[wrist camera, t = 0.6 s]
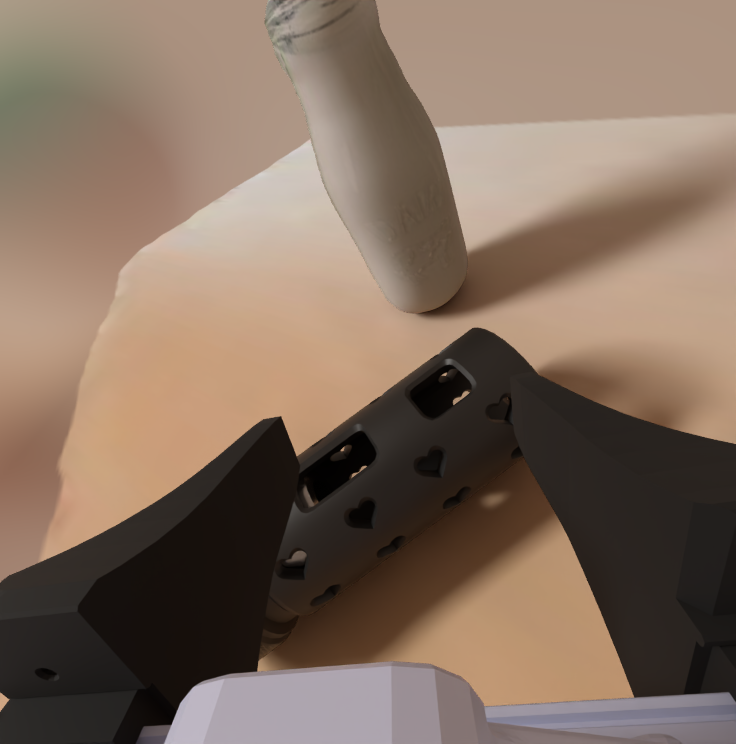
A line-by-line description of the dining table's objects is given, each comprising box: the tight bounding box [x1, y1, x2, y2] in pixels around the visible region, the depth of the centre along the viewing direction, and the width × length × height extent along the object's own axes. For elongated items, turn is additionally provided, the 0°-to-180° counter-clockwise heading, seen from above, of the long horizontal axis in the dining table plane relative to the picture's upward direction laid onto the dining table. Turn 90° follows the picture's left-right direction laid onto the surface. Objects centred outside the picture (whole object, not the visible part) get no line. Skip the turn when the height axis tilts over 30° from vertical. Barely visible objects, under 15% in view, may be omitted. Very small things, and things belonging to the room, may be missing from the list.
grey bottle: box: [265, 0, 468, 313], centre depth 33 cm, size 10×10×28 cm
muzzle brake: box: [259, 328, 538, 660], centre depth 26 cm, size 10×28×10 cm, turn 118°
